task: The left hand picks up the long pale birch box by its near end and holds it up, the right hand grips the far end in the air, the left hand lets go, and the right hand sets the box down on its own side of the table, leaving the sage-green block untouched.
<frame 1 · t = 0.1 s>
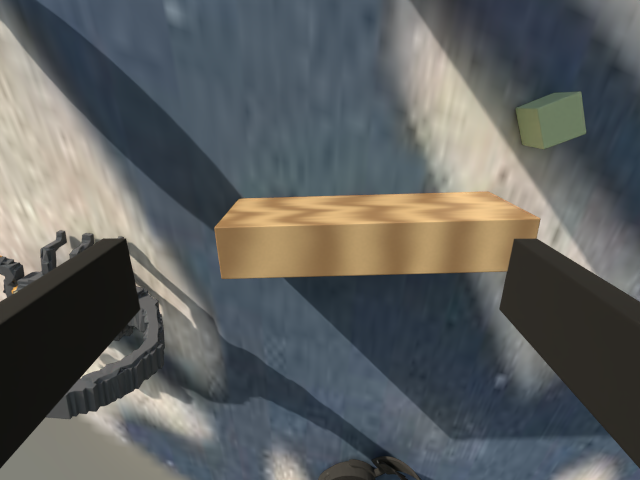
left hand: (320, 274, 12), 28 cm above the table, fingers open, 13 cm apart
long box: (363, 216, 41), on the table
toy: (87, 278, 43), on the table
headphones: (359, 472, 56), on the table
sage block: (537, 119, 37), on the table
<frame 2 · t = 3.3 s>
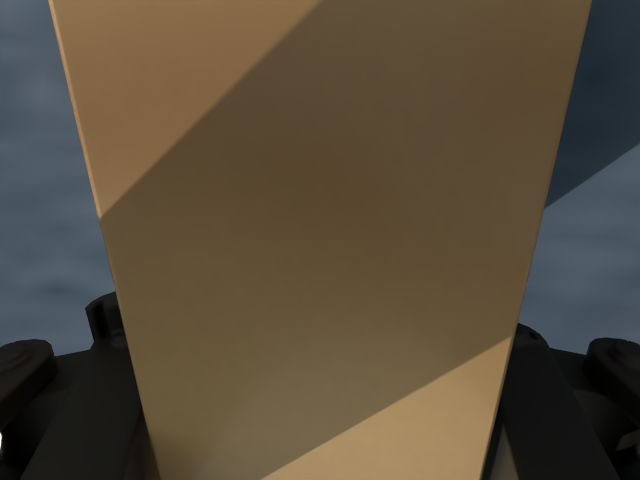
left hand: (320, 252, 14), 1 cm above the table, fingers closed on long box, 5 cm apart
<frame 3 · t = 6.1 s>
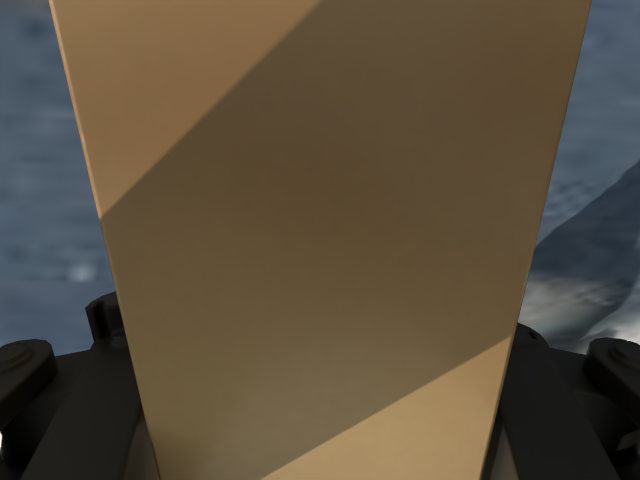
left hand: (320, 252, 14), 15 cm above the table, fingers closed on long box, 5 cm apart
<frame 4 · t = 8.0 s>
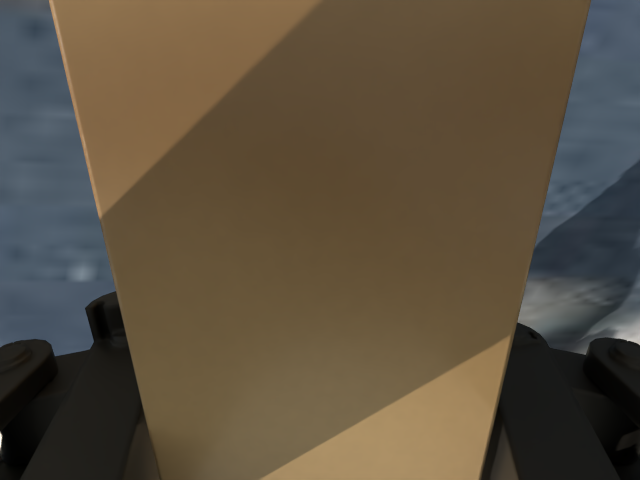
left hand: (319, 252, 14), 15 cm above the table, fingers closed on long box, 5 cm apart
when the left hand's fingers open (15 cm above the table, at t = 8.9 s): long box stays where it is, held by the right hand.
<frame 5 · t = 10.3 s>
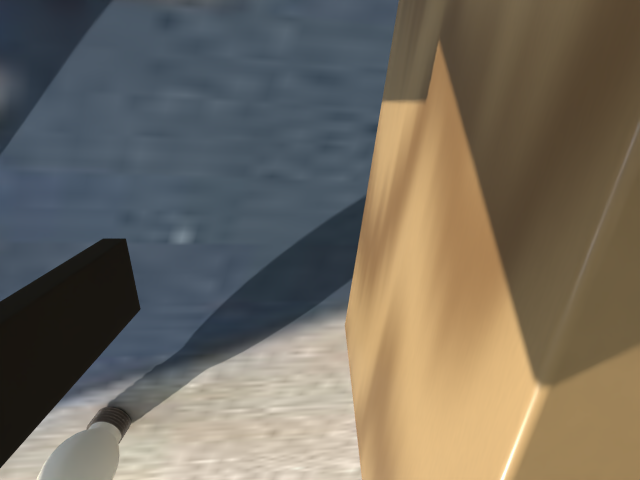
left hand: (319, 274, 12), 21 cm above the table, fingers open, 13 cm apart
light bulb: (116, 417, 44), on the table
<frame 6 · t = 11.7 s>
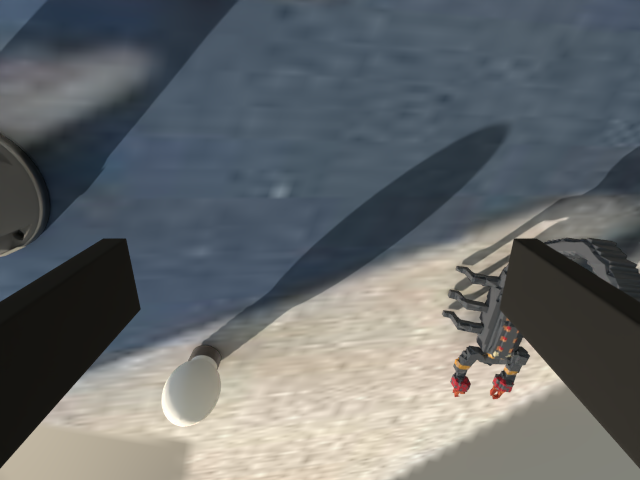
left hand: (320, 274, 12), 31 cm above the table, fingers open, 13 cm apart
toy: (490, 304, 48), on the table
light bulb: (208, 355, 51), on the table
when the right hand's fingers open (6 cm above the table, at t = 15.6 s): long box stays where it is, on the table.
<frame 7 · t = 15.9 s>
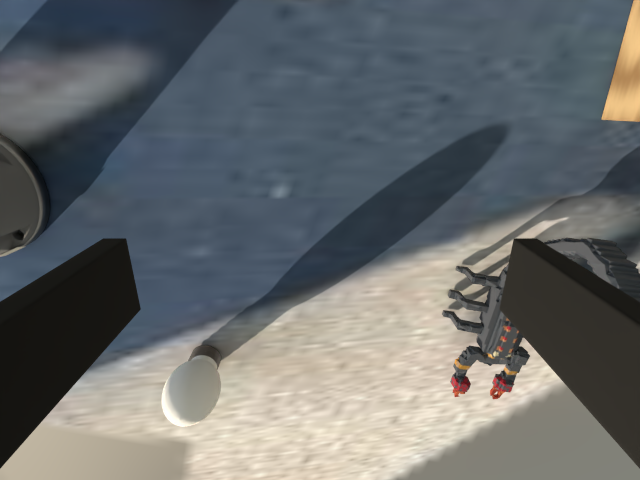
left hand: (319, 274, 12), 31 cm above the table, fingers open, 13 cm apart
toy: (490, 304, 48), on the table
light bulb: (208, 355, 51), on the table
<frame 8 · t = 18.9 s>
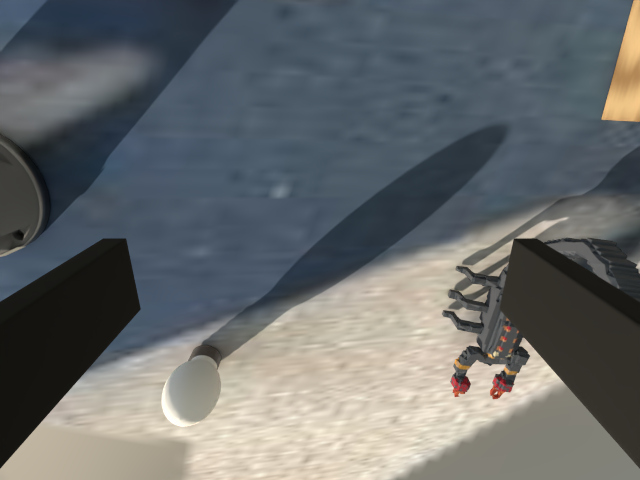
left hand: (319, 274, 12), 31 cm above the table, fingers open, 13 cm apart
toy: (490, 304, 48), on the table
light bulb: (208, 355, 51), on the table
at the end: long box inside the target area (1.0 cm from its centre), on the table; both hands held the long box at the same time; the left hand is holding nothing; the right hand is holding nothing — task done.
